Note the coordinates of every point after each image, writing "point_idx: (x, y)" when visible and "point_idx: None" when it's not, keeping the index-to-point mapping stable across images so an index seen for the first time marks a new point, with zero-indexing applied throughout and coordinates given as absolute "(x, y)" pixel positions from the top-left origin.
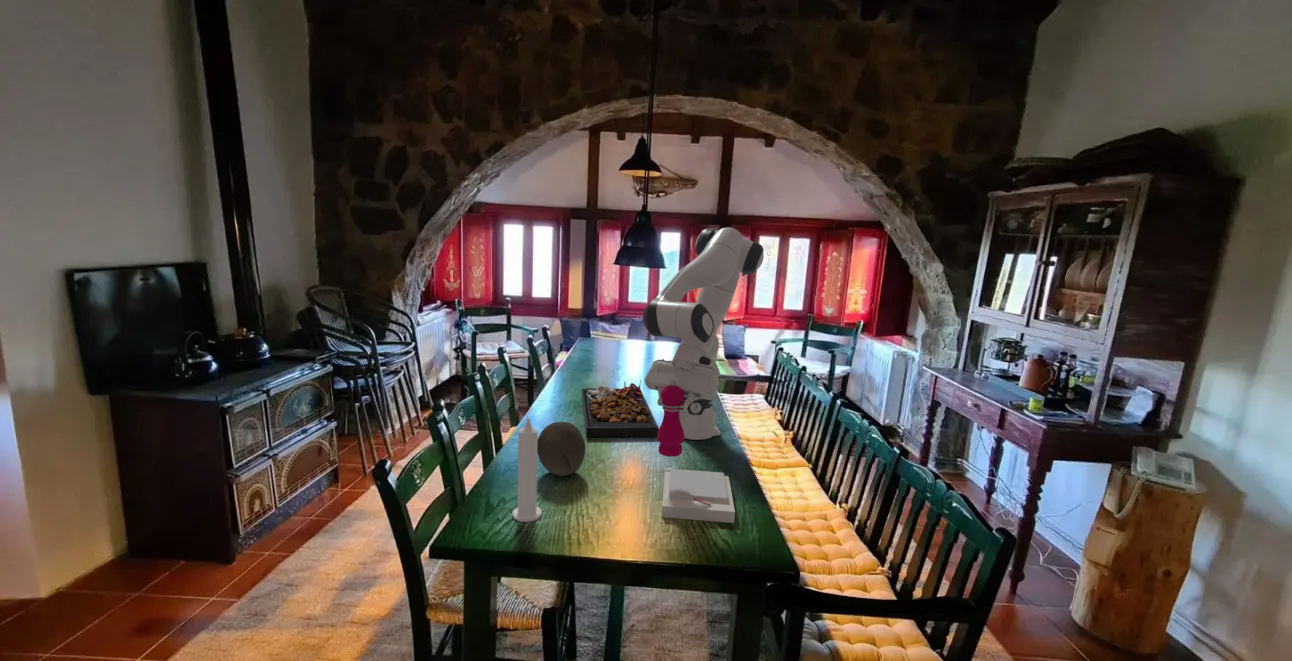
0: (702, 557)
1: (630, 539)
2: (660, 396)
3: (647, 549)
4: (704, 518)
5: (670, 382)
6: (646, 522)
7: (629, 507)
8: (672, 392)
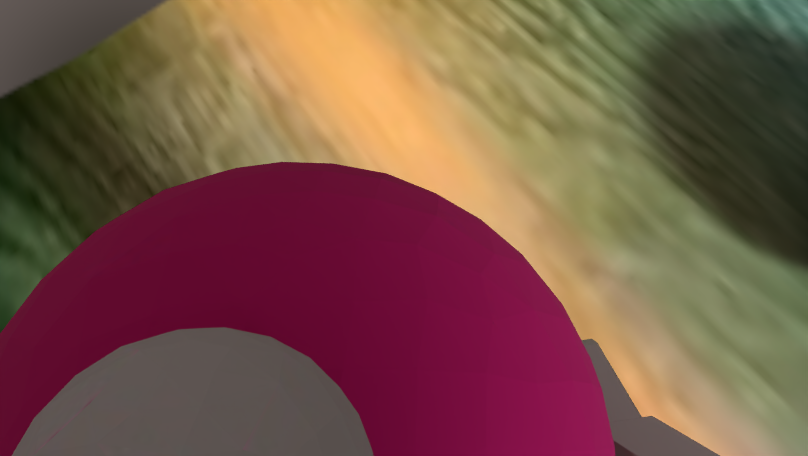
0: (40, 103)
1: (301, 32)
2: (622, 430)
3: (220, 25)
4: None
5: (232, 335)
6: (322, 153)
7: (448, 199)
8: (130, 218)
